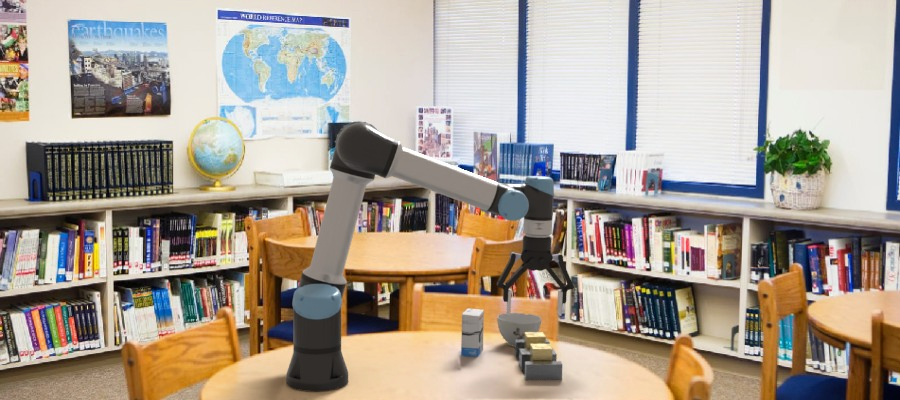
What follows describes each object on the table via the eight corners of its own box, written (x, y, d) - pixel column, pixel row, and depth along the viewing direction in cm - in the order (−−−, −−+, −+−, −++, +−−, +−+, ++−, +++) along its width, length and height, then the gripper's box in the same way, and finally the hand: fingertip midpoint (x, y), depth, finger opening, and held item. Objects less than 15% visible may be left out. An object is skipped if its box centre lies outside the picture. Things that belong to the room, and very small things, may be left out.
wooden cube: (532, 376, 250) (532, 348, 249) (529, 370, 254) (530, 343, 254) (551, 376, 250) (552, 348, 249) (548, 370, 255) (549, 343, 254)
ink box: (478, 358, 267) (479, 315, 265) (460, 357, 268) (461, 314, 266) (483, 350, 275) (484, 308, 273) (466, 349, 276) (466, 307, 274)
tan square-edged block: (523, 357, 266) (524, 332, 265) (542, 357, 266) (543, 332, 266) (526, 362, 261) (526, 336, 260) (545, 362, 262) (545, 336, 261)
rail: (526, 382, 246) (526, 364, 245) (514, 355, 270) (515, 339, 269) (561, 382, 246) (562, 364, 246) (547, 355, 270) (548, 339, 270)
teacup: (542, 350, 275) (543, 322, 274) (497, 350, 275) (498, 322, 274) (537, 336, 290) (538, 310, 289) (495, 336, 290) (495, 309, 289)
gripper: (491, 236, 256) (488, 316, 258) (587, 238, 257) (583, 318, 259) (488, 231, 263) (485, 310, 266) (581, 234, 264) (578, 312, 267)
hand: (533, 314), depth 262 cm, fingers open, 13 cm apart
